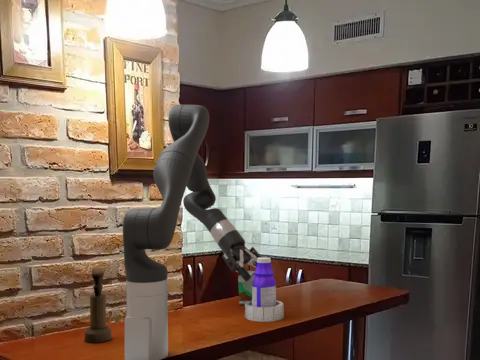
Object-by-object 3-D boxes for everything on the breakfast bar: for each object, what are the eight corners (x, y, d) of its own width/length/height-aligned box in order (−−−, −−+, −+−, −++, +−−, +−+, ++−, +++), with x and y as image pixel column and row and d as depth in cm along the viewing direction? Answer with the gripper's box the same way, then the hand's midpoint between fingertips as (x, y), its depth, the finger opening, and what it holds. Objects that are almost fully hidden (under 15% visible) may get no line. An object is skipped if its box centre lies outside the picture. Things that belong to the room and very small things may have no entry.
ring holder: (277, 322, 143) (276, 308, 143) (240, 320, 147) (240, 306, 147) (287, 314, 154) (287, 300, 154) (252, 311, 157) (252, 298, 157)
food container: (257, 307, 163) (256, 276, 163) (238, 307, 164) (238, 275, 165) (263, 299, 175) (262, 270, 175) (245, 299, 176) (245, 270, 177)
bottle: (266, 313, 155) (265, 256, 155) (279, 316, 150) (279, 257, 151) (248, 317, 150) (248, 258, 151) (261, 320, 146) (261, 259, 146)
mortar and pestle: (101, 334, 134) (101, 265, 134) (116, 338, 129) (116, 267, 130) (79, 340, 128) (79, 268, 129) (94, 344, 124) (94, 270, 125)
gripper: (219, 230, 152) (250, 272, 145) (247, 227, 163) (278, 266, 156) (205, 247, 155) (235, 289, 148) (235, 243, 167) (264, 282, 159)
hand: (257, 277), depth 152 cm, fingers open, 8 cm apart
